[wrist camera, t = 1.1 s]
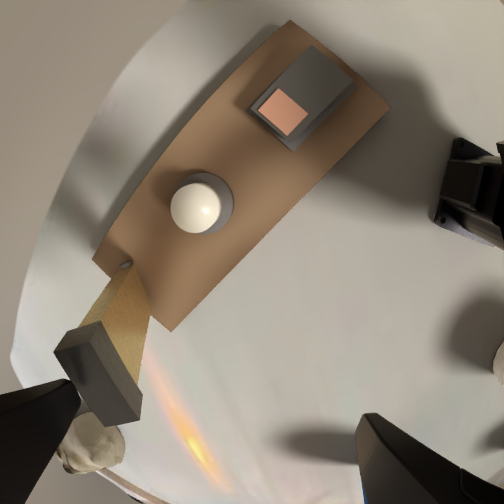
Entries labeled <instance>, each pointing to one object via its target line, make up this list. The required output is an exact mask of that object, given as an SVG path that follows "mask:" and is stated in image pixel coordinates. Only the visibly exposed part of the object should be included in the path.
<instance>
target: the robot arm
mask: <svg viewBox="0 0 504 504" xmlns="http://www.w3.org/2000/svg"><path fill="white" fill-rule="evenodd" d="M459 142H460V143H461V148H460V147H459ZM496 145H497V149H498V153H500V156H501V157H497V156H494V155H492V154H490V153H489V152H487V151H485V150H484V149H482V148H480V147H478V146H476V145H475V144H473V143H471V142H469V141H467V140H465V139H464V138H461V137H459V138H455V139H454V141H453V146H452V151H451V156H450V160H449V161H448V163H447V168H446V172H445V176H444V180H443V185H442V189H441V192H440V196H441V198H440V202H439V205H438V209H437V212H436V216H435V223H436V225H438V226H440V227H442V228H444V229H447V230H450V231H453V232H455V233H458V234H460V235H463V236H466V237H468V238H471V239H473V240H476V241H478V242H481V243H483V244H486V245H488V246H491V247H494V246H497V247H499V248H501V249H502V250H504V141H501V142H497V143H496ZM441 217H443V222H440V219H441ZM80 404H81V399H80V396H79V394H78V391H77V389H76V386H75V384H74V383H73V382H72V381H70V380H67V379H59V380H55V381H52V382H48V383H45V384H41V385H37V386H33V387H29V388H26V389H22V390H18V391H14V392H10V393H5V394H2V395H0V504H25V502H26V500H27V499H28V497H29V495H30V493H31V492H32V490H33V488H34V486H35V485H36V483H37V481H38V480H39V478H40V476H41V475H42V473H43V471H44V470H45V468H46V466H47V465H48V463H49V461H50V460H51V458H52V456H53V455H54V453H55V452H56V450H57V449H58V447H59V445H60V444H61V442H62V441H63V439H64V437H65V436H66V434H67V432H68V430H69V428H70V426H71V423H72V421H73V419H74V417H75V415H76V413H77V411H78V409H79V407H80ZM355 440H356V447H357V454H358V462H359V469H360V475H361V480H362V483H363V487H364V491H365V495H366V498H367V502H368V504H504V489H502V488H500V487H497V486H495V485H493V484H491V483H489V482H486V481H484V480H482V479H480V478H479V477H477V476H475V475H473V474H471V473H470V472H468V471H466V470H465V469H463V468H461V469H460V467H459V466H457V465H455V464H454V463H452V462H451V461H449V460H447V459H446V458H444V457H442V456H441V455H439V454H438V453H436V452H435V451H433V450H431V449H430V448H428V447H427V446H425V445H424V444H422V443H421V442H419V441H417V440H416V439H414V438H413V437H411V436H410V435H408V434H407V433H405V432H404V431H402V430H401V429H399V428H398V427H396V426H395V425H394V424H392V423H391V422H389V421H388V420H386V419H385V418H383V417H382V416H380V415H379V414H377V413H365V414H363V415H362V417H361V419H360V422H359V424H358V427H357V429H356V433H355Z"/></svg>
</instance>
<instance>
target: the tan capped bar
mask: <svg viewBox="0 0 504 504" xmlns="http://www.w3.org/2000/svg"><path fill="white" fill-rule="evenodd" d="M151 309H152V304H151V302H150V300H149V297H148V295H147V292H146V290H145V288H144V285H143V283H142V280H141V278H140V276H139V273H138V271H137V268H136V265H135V263H134V262H133V260H128V261H125V262H123V263H121V264H120V269H118V271H117V272H116V273H115V275H114V276H113V277H112V279H111V280H110V282H109V283H108V284H107V286H106V287H105V289H104V290H103V291H102V293H101V294H100V296H99V297H98V299H97V300H96V301H95V303H94V304H93V306H92V307H91V309H90V310H89V312H88V313H87V315H86V316H85V318H84V319H83V321H82V322H81V324H80V325H79V327H78V328H76V329H73V330H70V331H67V332H66V334H65V335H64V337H63V338H62V340H61V341H60V343H59V344H58V346H57V347H56V349H55V350H54V354H55V356H56V358H57V359H58V361H59V363H60V364H61V366H62V367H63V369H64V371H65V372H66V374H67V375H68V377H69V379H70V380H71V381H72V382H73V383H74V384H75V386H76V389H77V391H78V392H79V393H80V395H81V396H82V398H83V399H84V401H85V402H86V403H87V405H88V406H89V408H90V409H91V410H92V412H93V413H94V414H95V416H96V417H97V418H98V419H99V421H100V422H101V423H102V425H103V426H104V427H110V426H115V425H120V424H125V423H130V422H134V421H139V420H140V415H141V405H142V396H143V394H142V393H141V391H140V390H139V388H138V386H137V384H138V378H139V371H140V366H141V360H142V354H143V349H144V343H145V338H146V333H147V328H148V323H149V318H150V313H151Z"/></svg>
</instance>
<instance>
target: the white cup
mask: <svg viewBox="0 0 504 504" xmlns="http://www.w3.org/2000/svg"><path fill="white" fill-rule="evenodd" d="M493 372H494V374H495V375H496V377H497V378H498V380H499V381H500V383H501V384H502V386H503V388H504V341H503V343H502V344H501V346H500V347H499V349H498V350H497V353H496V356H495V358H494V361H493Z"/></svg>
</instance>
